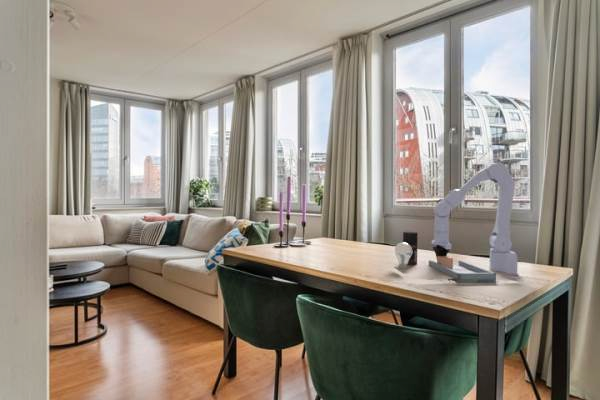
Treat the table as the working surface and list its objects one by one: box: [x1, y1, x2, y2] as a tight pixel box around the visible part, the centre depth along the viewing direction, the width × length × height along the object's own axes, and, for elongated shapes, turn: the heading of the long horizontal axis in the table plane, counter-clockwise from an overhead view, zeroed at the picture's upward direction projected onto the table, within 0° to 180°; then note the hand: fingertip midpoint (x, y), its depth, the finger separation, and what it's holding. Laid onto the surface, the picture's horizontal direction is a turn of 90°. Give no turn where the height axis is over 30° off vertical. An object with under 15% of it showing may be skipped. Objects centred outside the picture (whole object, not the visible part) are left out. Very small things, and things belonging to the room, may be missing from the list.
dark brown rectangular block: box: [402, 231, 419, 266], centre depth 162 cm, size 6×6×15 cm
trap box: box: [428, 259, 497, 284], centre depth 147 cm, size 14×26×4 cm, turn 3°
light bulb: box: [394, 241, 412, 270], centre depth 153 cm, size 7×7×12 cm
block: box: [436, 255, 454, 269], centre depth 153 cm, size 4×4×4 cm
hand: (440, 264), depth 157 cm, fingers closed
